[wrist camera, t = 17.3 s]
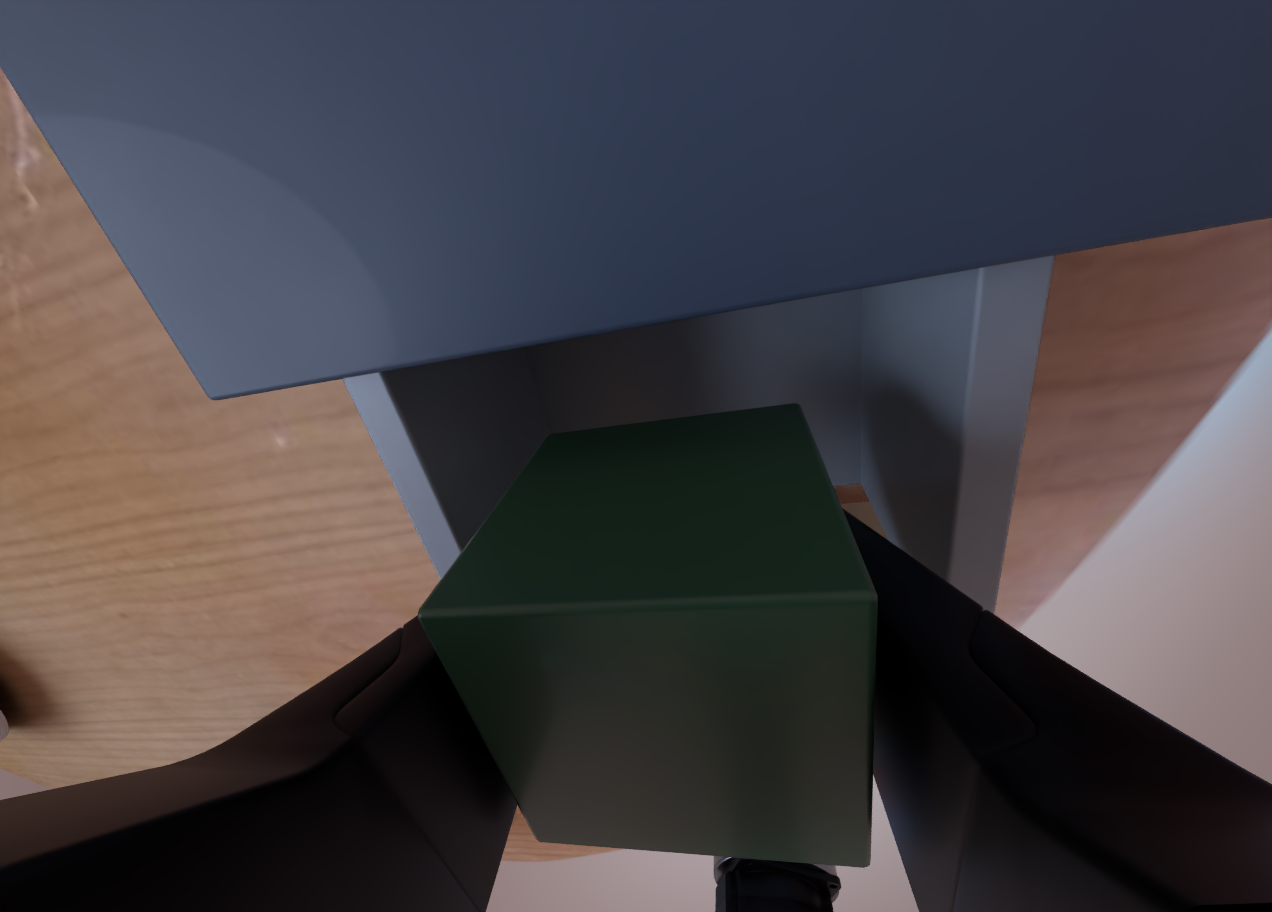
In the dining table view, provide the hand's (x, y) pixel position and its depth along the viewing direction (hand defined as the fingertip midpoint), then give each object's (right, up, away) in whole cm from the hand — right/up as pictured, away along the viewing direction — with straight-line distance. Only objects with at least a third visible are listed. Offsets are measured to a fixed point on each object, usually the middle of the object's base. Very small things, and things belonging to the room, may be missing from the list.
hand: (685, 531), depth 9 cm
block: (0, 0, 0) cm, 0 cm away
